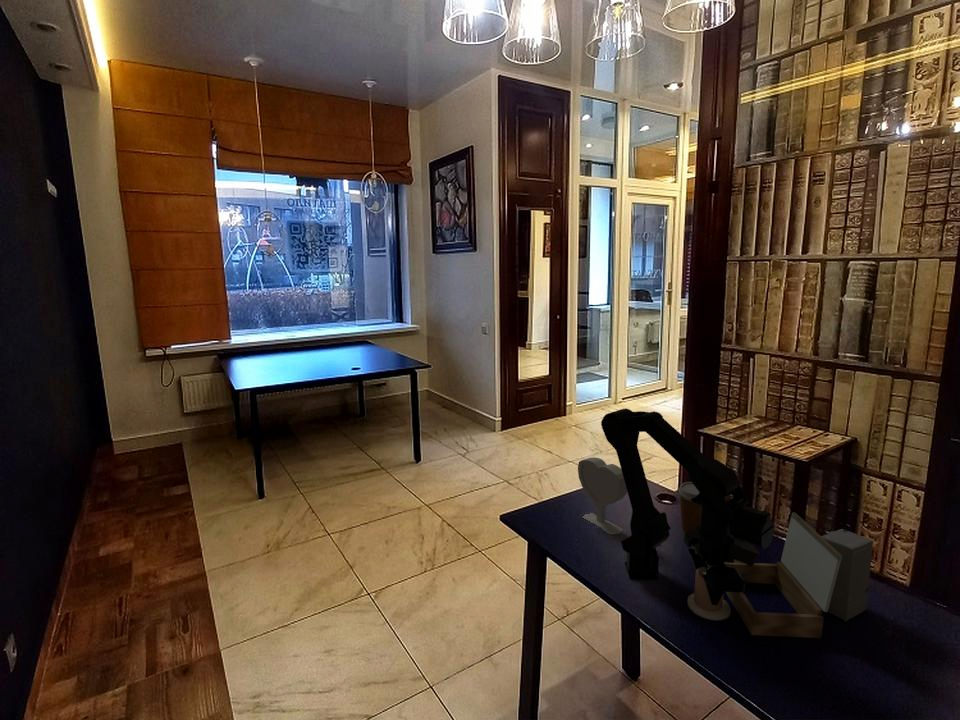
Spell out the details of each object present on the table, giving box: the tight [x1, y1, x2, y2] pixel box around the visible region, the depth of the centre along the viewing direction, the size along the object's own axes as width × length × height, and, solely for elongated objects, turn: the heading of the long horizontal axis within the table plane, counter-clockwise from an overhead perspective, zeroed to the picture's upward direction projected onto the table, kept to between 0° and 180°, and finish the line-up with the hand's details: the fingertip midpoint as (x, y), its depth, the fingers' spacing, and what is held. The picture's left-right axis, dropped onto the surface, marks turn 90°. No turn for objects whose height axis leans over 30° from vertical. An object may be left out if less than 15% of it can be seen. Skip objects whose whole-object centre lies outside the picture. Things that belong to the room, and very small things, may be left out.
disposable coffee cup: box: [677, 481, 701, 533], centre depth 140 cm, size 10×10×12 cm
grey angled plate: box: [780, 512, 843, 613], centre depth 107 cm, size 12×17×1 cm
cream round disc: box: [686, 592, 732, 621], centre depth 110 cm, size 8×8×1 cm
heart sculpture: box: [577, 457, 628, 535], centre depth 144 cm, size 16×5×18 cm, turn 34°
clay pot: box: [693, 566, 724, 611], centre depth 109 cm, size 6×6×9 cm
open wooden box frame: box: [724, 561, 825, 639], centre depth 108 cm, size 16×18×12 cm
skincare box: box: [815, 528, 874, 622], centre depth 108 cm, size 8×7×16 cm
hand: (709, 595), depth 109 cm, fingers closed on clay pot, 6 cm apart
